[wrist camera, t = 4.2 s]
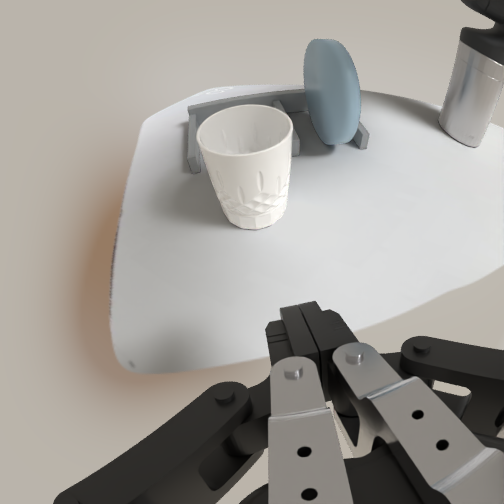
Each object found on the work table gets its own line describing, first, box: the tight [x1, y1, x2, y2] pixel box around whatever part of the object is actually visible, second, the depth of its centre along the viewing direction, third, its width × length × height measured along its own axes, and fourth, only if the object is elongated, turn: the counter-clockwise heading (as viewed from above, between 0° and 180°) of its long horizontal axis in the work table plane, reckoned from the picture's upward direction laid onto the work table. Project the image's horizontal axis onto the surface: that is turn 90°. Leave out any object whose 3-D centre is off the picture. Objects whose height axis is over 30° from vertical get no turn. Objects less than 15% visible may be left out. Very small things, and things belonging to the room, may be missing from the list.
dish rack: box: [187, 39, 369, 174], centre depth 29 cm, size 15×23×14 cm, turn 99°
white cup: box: [196, 104, 293, 230], centre depth 25 cm, size 8×8×10 cm
